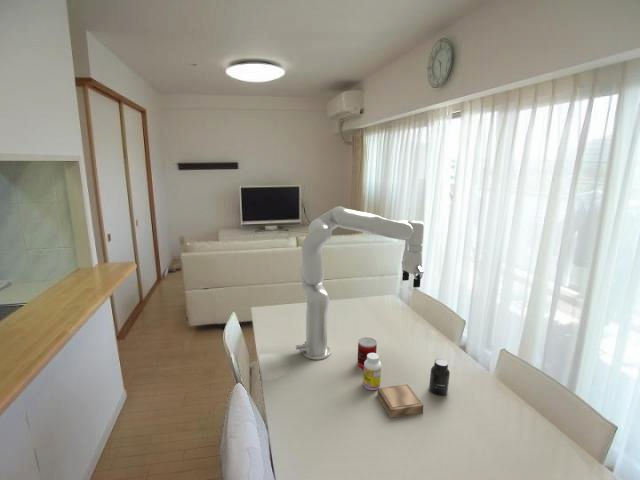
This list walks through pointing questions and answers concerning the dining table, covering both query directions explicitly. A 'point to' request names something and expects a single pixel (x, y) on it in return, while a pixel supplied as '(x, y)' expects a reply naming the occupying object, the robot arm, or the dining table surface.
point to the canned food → (365, 349)
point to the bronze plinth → (400, 400)
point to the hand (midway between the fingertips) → (410, 283)
